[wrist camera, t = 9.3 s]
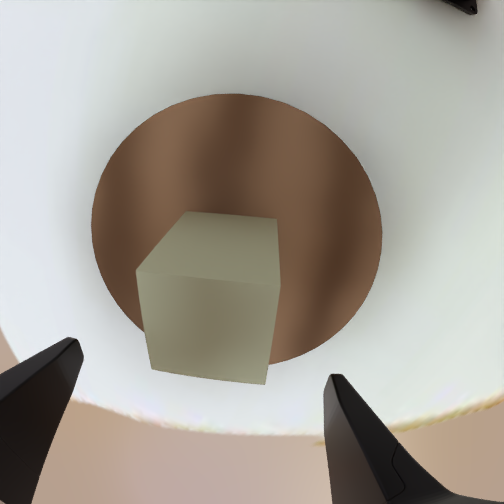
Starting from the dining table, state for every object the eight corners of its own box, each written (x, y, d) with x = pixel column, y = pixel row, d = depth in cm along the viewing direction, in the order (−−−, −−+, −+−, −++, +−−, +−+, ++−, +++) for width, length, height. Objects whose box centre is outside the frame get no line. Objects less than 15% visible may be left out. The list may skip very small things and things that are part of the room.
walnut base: (386, 119, 16) (406, 119, 13) (336, 347, 24) (342, 373, 21) (109, 102, 16) (85, 101, 14) (127, 324, 24) (113, 347, 21)
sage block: (276, 218, 16) (280, 285, 10) (267, 296, 18) (265, 384, 12) (186, 211, 16) (135, 270, 10) (187, 288, 18) (151, 369, 12)
